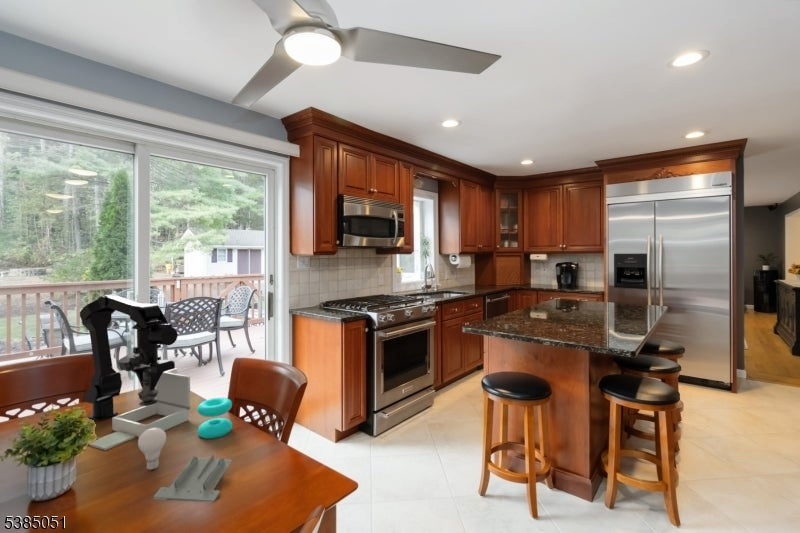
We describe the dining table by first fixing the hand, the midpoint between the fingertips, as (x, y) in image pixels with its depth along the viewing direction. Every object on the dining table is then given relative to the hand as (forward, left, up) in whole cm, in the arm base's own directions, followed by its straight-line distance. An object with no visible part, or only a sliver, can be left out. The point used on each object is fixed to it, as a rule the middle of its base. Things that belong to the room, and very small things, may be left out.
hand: (148, 389), depth 128 cm
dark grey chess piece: (0, 0, -5) cm, 5 cm away
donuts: (+25, +5, -13) cm, 28 cm away
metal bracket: (+44, -17, -13) cm, 49 cm away
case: (0, +1, -12) cm, 12 cm away
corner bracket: (-14, +16, -13) cm, 25 cm away
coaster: (0, -11, -12) cm, 17 cm away
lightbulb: (+27, -17, -13) cm, 34 cm away
